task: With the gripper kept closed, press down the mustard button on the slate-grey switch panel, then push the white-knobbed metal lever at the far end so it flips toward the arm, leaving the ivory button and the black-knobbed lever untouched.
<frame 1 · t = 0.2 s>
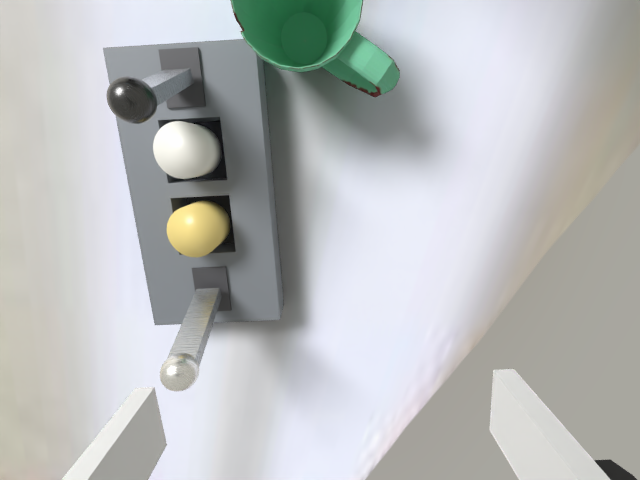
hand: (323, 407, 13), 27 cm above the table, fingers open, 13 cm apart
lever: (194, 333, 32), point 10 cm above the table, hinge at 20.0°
button ivory: (189, 150, 33), point 5 cm above the table, slide at 0.0 cm
mug: (323, 55, 35), on the table
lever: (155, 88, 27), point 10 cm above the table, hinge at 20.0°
button mustard: (200, 227, 35), point 5 cm above the table, slide at 0.0 cm
panel: (212, 192, 39), on the table
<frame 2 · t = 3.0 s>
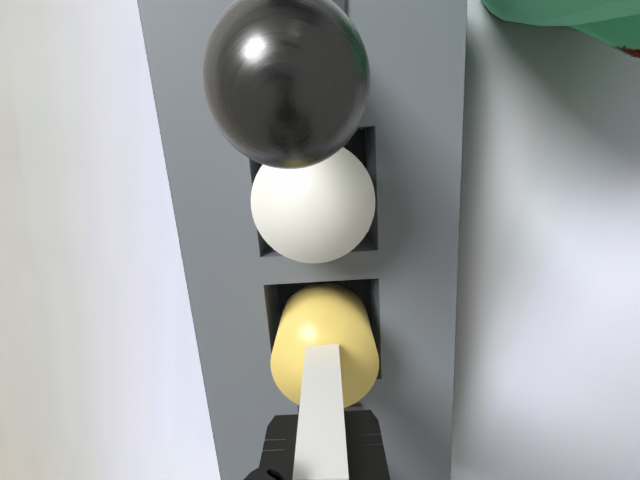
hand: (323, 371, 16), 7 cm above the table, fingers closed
button ivory: (314, 197, 16), point 5 cm above the table, slide at 0.0 cm
mug: (555, 1, 18), on the table
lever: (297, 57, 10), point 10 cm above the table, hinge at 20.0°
button mustard: (324, 341, 18), point 5 cm above the table, slide at 0.2 cm, touching gripper
panel: (321, 258, 22), on the table
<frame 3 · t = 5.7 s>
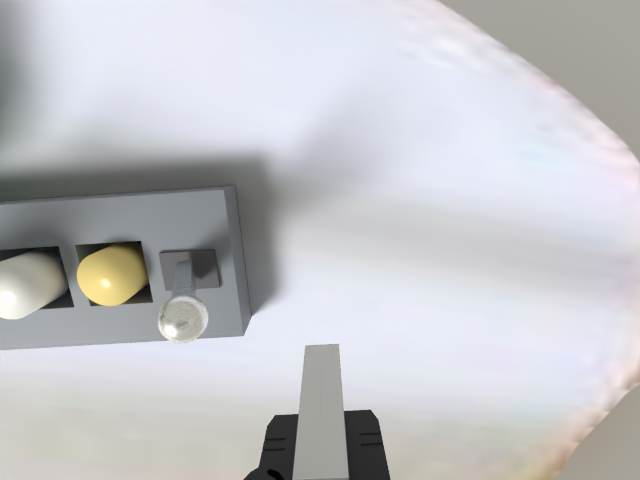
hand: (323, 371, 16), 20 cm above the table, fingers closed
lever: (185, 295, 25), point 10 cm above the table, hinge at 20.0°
button ivory: (25, 283, 31), point 5 cm above the table, slide at 0.0 cm
button mustard: (118, 272, 32), point 3 cm above the table, slide at 1.6 cm
panel: (108, 262, 36), on the table
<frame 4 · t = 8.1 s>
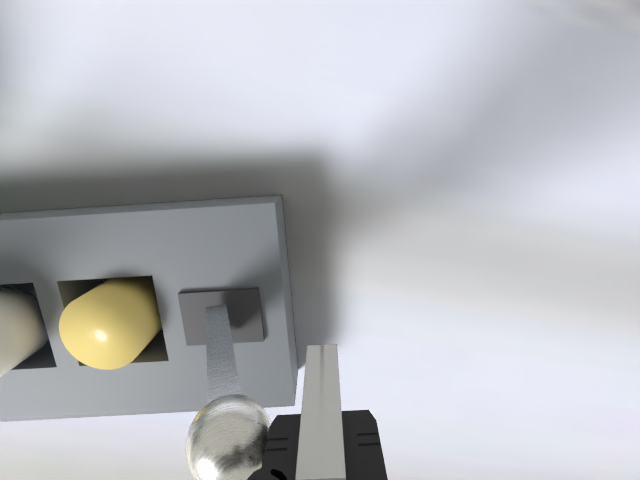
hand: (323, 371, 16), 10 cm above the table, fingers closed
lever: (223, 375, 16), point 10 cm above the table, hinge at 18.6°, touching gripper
button mustard: (119, 317, 23), point 3 cm above the table, slide at 1.6 cm
panel: (105, 299, 26), on the table
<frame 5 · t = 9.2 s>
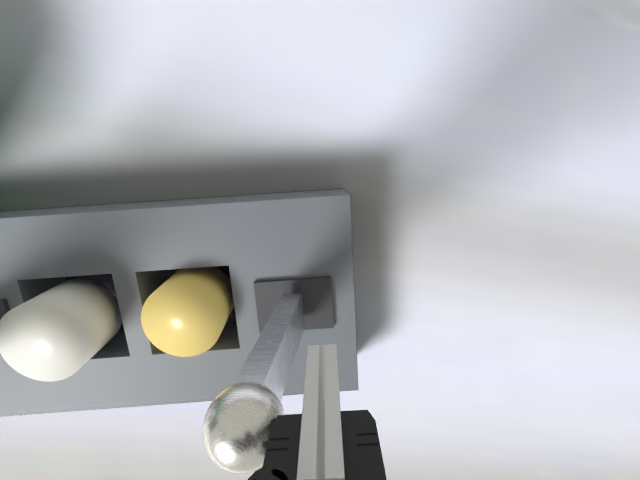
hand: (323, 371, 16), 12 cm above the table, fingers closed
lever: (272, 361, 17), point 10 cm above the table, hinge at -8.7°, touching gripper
button ivory: (65, 327, 22), point 5 cm above the table, slide at 0.0 cm
button mustard: (192, 307, 23), point 3 cm above the table, slide at 1.6 cm
panel: (167, 291, 27), on the table
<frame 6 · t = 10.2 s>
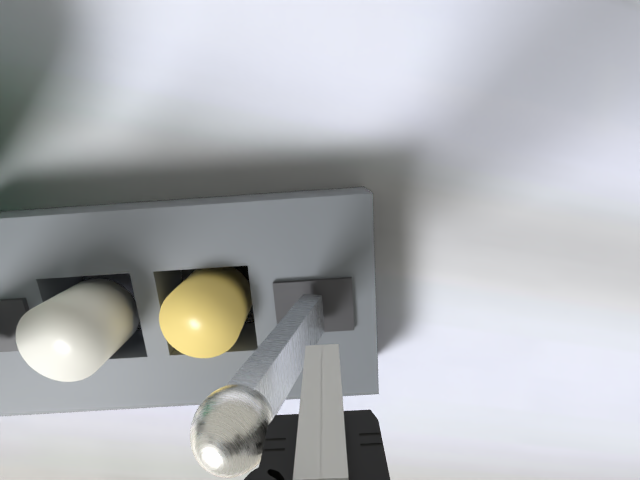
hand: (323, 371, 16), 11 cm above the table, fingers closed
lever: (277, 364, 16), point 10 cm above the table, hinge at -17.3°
button ivory: (83, 326, 22), point 5 cm above the table, slide at 0.0 cm
button mustard: (210, 308, 23), point 3 cm above the table, slide at 1.6 cm
panel: (184, 291, 26), on the table
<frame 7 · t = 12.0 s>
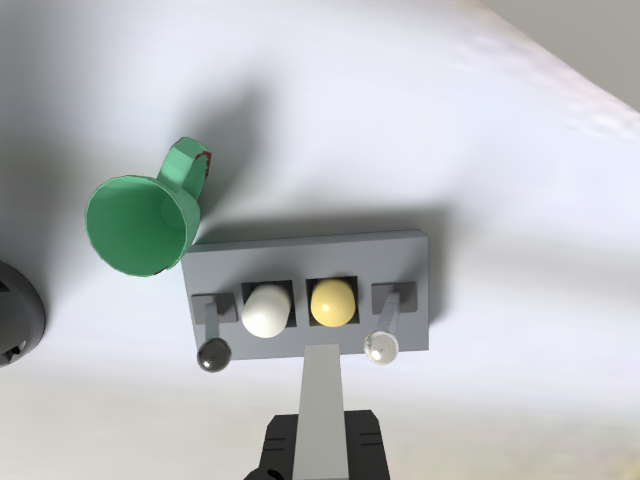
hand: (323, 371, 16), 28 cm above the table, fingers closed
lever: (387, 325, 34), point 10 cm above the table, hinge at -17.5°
button ivory: (267, 309, 40), point 5 cm above the table, slide at 0.0 cm
mug: (190, 194, 42), on the table
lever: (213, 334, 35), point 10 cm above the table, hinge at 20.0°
button mustard: (332, 299, 41), point 3 cm above the table, slide at 1.6 cm
panel: (309, 289, 44), on the table
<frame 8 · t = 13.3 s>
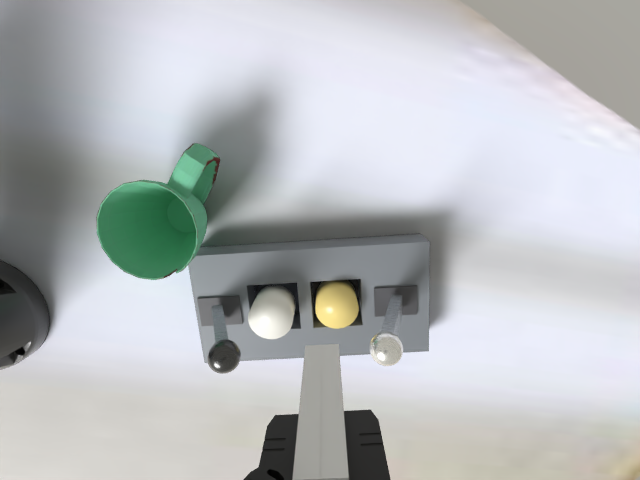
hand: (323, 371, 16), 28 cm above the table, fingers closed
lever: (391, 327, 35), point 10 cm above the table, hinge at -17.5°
button ivory: (273, 311, 40), point 5 cm above the table, slide at 0.0 cm
mug: (197, 197, 43), on the table
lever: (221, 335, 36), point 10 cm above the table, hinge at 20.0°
button mustard: (336, 301, 42), point 3 cm above the table, slide at 1.6 cm
panel: (312, 292, 45), on the table
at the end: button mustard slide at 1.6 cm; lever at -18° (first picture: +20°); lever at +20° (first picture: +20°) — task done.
